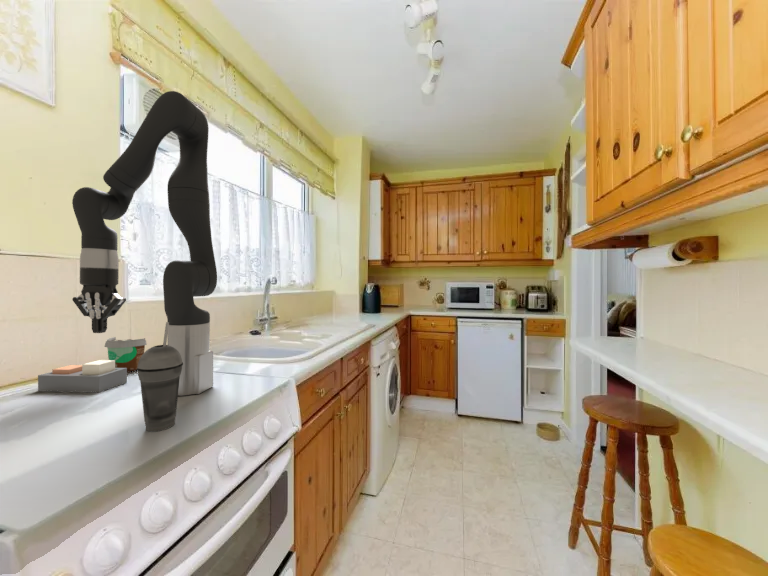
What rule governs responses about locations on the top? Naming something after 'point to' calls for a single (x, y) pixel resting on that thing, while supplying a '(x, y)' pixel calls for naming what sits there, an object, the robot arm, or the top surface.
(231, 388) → the top surface
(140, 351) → the food container
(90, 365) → the cream key
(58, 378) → the key console
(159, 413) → the beverage cup
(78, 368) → the terracotta key
